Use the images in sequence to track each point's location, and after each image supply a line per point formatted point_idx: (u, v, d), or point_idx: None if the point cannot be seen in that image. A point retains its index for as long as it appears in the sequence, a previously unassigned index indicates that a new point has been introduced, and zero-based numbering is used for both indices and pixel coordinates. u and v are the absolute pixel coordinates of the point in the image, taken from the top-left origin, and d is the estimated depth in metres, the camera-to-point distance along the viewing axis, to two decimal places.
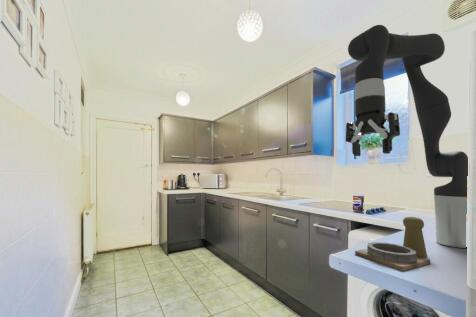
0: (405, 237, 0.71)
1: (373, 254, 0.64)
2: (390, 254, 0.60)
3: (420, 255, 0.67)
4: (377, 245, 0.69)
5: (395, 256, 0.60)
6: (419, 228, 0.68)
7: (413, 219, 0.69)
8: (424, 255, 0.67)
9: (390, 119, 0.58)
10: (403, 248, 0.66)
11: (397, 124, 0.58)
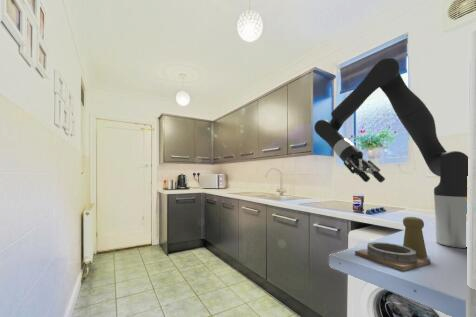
0: (405, 237, 0.71)
1: (373, 254, 0.64)
2: (390, 254, 0.60)
3: (420, 255, 0.67)
4: (377, 245, 0.69)
5: (395, 256, 0.60)
6: (419, 228, 0.68)
7: (413, 219, 0.69)
8: (424, 255, 0.67)
9: None
10: (403, 248, 0.66)
11: (350, 165, 0.84)
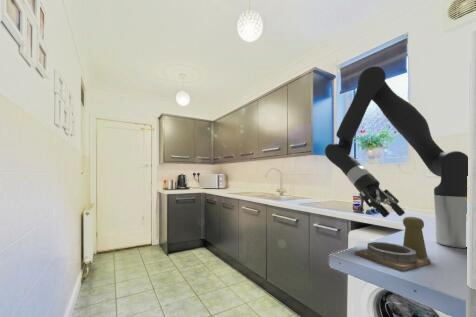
0: (405, 237, 0.71)
1: (373, 254, 0.64)
2: (390, 254, 0.60)
3: (420, 255, 0.67)
4: (377, 245, 0.69)
5: (395, 256, 0.60)
6: (419, 228, 0.68)
7: (413, 219, 0.69)
8: (424, 255, 0.67)
9: None
10: (403, 248, 0.66)
11: (367, 197, 0.77)
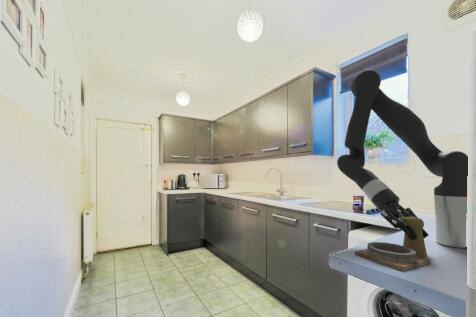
0: (405, 237, 0.71)
1: (373, 254, 0.64)
2: (390, 254, 0.60)
3: (420, 255, 0.67)
4: (377, 245, 0.69)
5: (395, 256, 0.60)
6: (419, 228, 0.68)
7: (413, 219, 0.69)
8: (424, 255, 0.67)
9: None
10: (403, 248, 0.66)
11: (391, 218, 0.71)
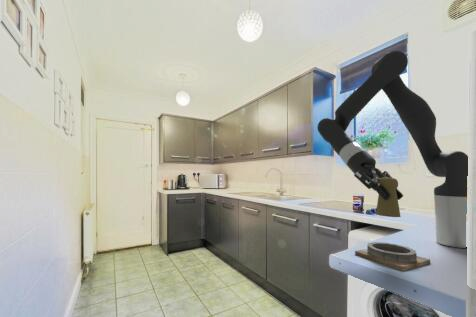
0: (378, 198, 0.67)
1: (373, 254, 0.64)
2: (390, 254, 0.60)
3: (393, 215, 0.63)
4: (377, 245, 0.69)
5: (395, 256, 0.60)
6: (393, 187, 0.65)
7: (387, 178, 0.65)
8: (397, 215, 0.63)
9: None
10: (403, 248, 0.66)
11: (365, 178, 0.67)
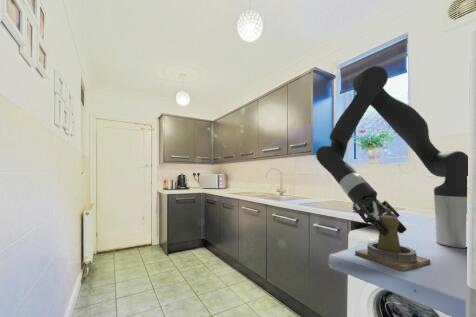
0: (379, 237, 0.66)
1: (373, 254, 0.64)
2: (390, 254, 0.60)
3: None
4: (377, 245, 0.69)
5: (395, 256, 0.60)
6: (393, 227, 0.63)
7: (387, 218, 0.64)
8: None
9: None
10: (403, 248, 0.66)
11: (363, 211, 0.66)
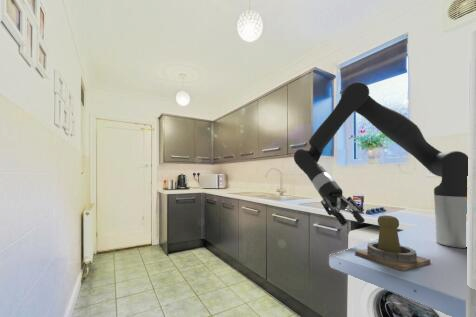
0: (379, 237, 0.66)
1: (373, 254, 0.64)
2: (390, 254, 0.60)
3: None
4: (377, 245, 0.69)
5: (395, 256, 0.60)
6: (393, 227, 0.63)
7: (387, 218, 0.64)
8: None
9: None
10: (403, 248, 0.66)
11: (327, 205, 0.77)
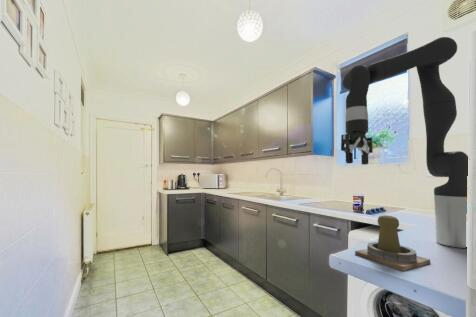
0: (379, 237, 0.66)
1: (373, 254, 0.64)
2: (390, 254, 0.60)
3: None
4: (377, 245, 0.69)
5: (395, 256, 0.60)
6: (393, 227, 0.63)
7: (387, 218, 0.64)
8: None
9: None
10: (403, 248, 0.66)
11: (345, 142, 0.81)
